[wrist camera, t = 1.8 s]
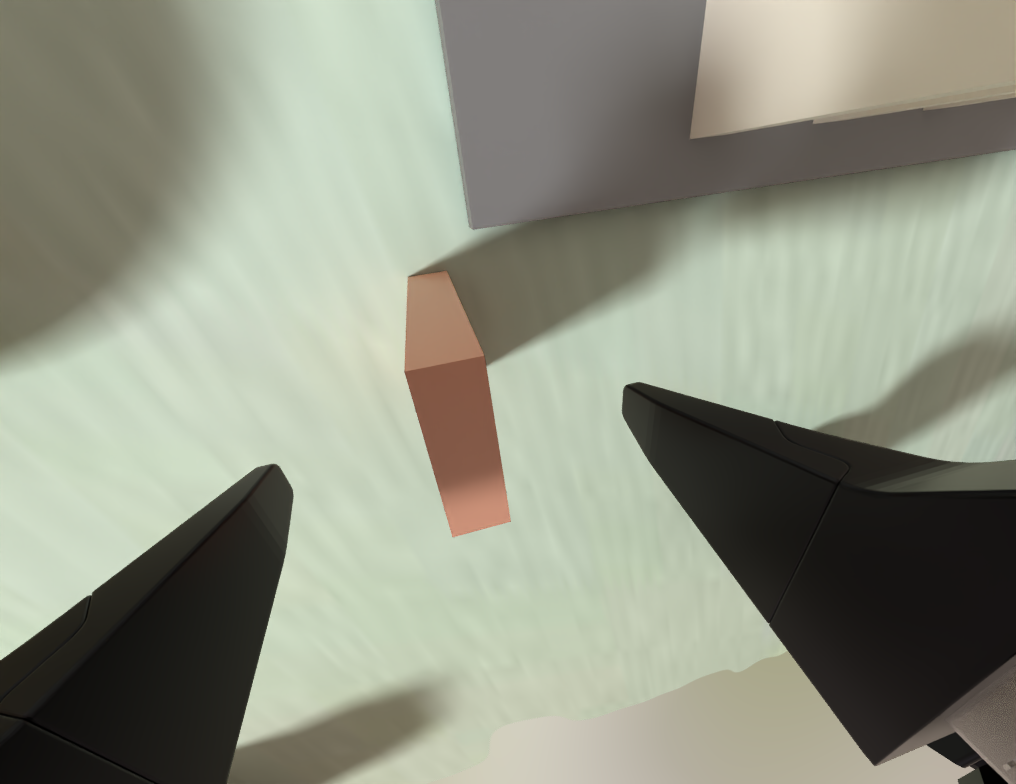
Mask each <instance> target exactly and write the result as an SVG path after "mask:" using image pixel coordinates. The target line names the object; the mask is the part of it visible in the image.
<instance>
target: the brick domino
mask: <svg viewBox="0 0 1016 784" xmlns="http://www.w3.org/2000/svg"><path fill="white" fill-rule="evenodd" d="M405 375H406V378H407V382H408V385H409V389H410V392H411V396H412V399H413V402H414V406H415V409H416V413H417V416H418V420H419V423H420V427H421V430H422V433H423V437H424V440H425V444H426V447H427V451H428V454H429V457H430V461H431V464H432V468H433V471H434V475H435V478H436V482H437V485H438V488H439V492H440V495H441V499H442V502H443V506H444V509H445V512H446V516H447V519H448V523H449V526H450V530H451V533H452V537H455V536H459V535H463V534H466V533H470V532H474V531H477V530H481V529H485V528H488V527H492V526H496V525H500V524H503V523H507V522H511V520H510V514H509V507H508V501H507V495H506V489H505V482H504V476H503V470H502V463H501V457H500V451H499V444H498V438H497V432H496V425H495V419H494V413H493V406H492V400H491V394H490V387H489V381H488V375H487V368H486V362H485V356H484V353H483V351H482V349H481V347H480V344H479V342H478V340H477V338H476V335H475V333H474V331H473V329H472V326H471V324H470V322H469V320H468V317H467V315H466V313H465V311H464V308H463V306H462V304H461V302H460V299H459V297H458V295H457V293H456V290H455V288H454V286H453V284H452V281H451V279H450V277H449V275H448V272H447V271H441V272H435V273H429V274H423V275H417V276H411V277H408V287H407V315H406V344H405Z"/></svg>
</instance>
